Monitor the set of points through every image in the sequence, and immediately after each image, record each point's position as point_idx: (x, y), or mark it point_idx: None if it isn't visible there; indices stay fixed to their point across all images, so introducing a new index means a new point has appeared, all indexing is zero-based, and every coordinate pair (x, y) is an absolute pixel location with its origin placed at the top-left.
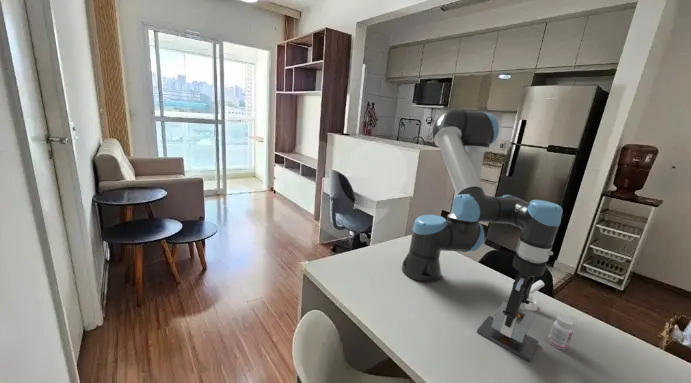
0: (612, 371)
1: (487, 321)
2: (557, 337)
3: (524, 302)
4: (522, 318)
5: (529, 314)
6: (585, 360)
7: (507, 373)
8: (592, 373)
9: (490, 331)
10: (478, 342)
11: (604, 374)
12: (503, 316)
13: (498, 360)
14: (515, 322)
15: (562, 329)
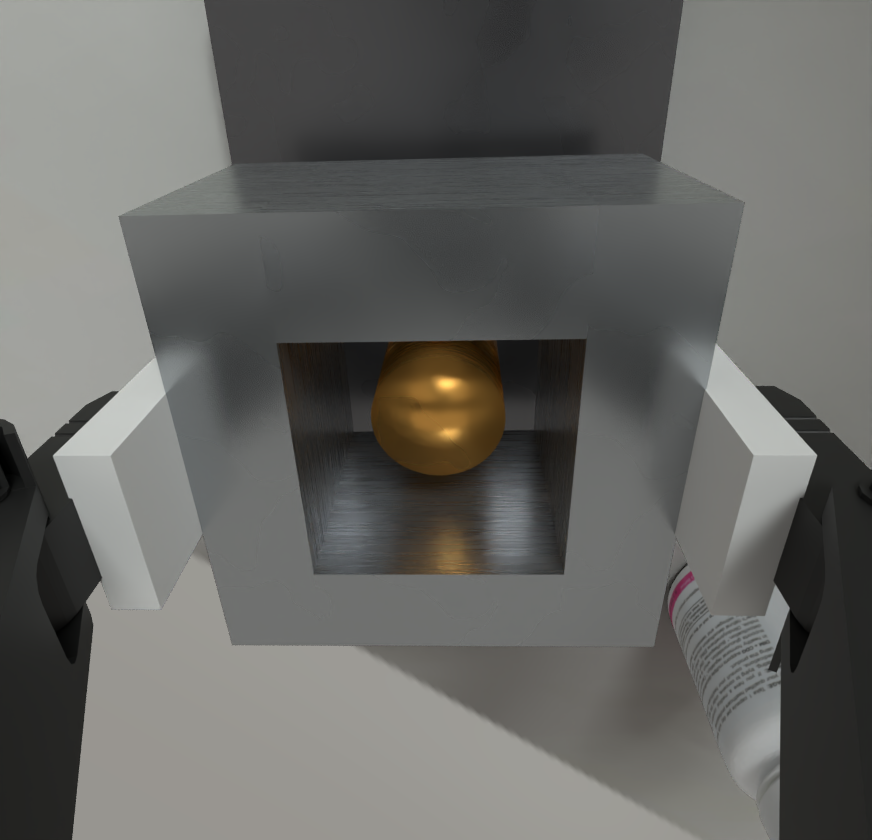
0: (677, 792)
1: (506, 19)
2: (697, 659)
3: (786, 620)
4: (551, 507)
5: (625, 611)
6: (670, 712)
7: (11, 422)
8: (562, 738)
9: (329, 139)
10: (78, 94)
11: (610, 771)
12: (165, 365)
13: (63, 333)
14: (201, 531)
15: (737, 759)
